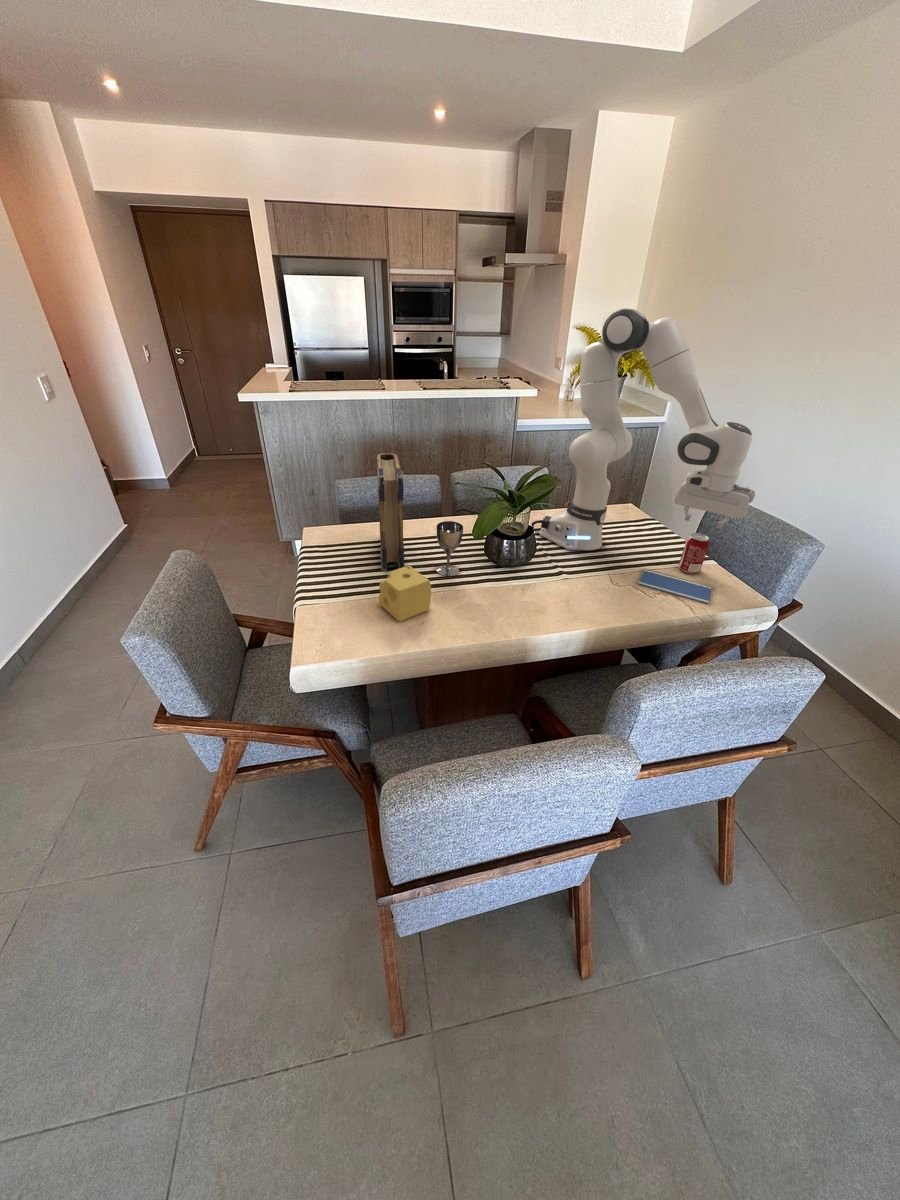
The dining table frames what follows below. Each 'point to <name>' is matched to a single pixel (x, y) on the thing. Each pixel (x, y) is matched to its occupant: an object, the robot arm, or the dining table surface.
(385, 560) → the decorative book
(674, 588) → the blue rectangular panel
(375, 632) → the dining table surface
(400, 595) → the cheese
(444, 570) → the wine glass
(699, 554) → the soda can
